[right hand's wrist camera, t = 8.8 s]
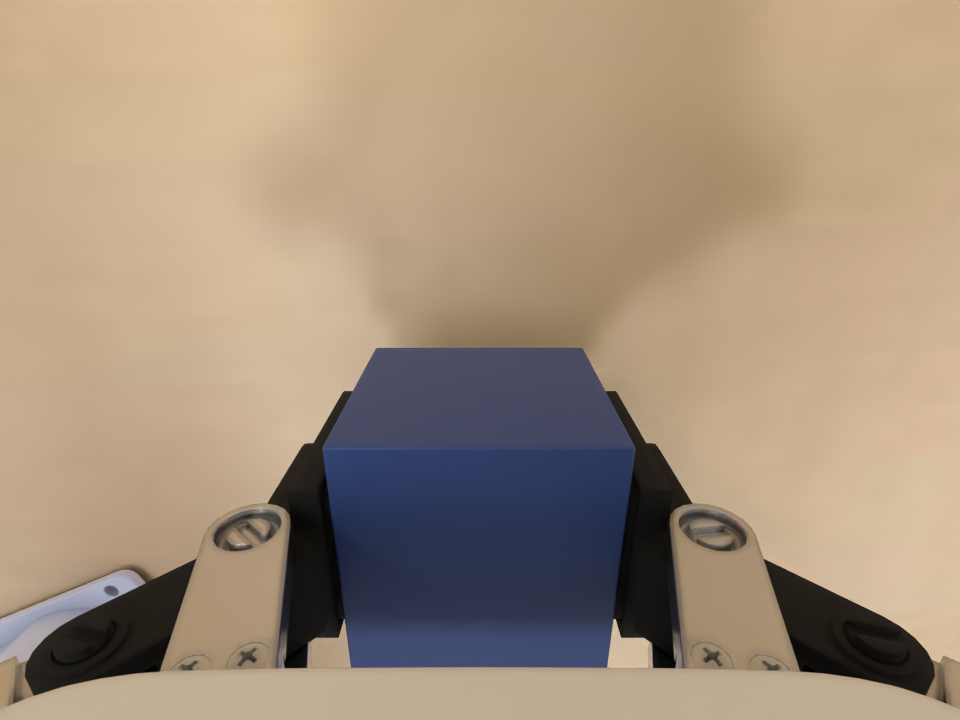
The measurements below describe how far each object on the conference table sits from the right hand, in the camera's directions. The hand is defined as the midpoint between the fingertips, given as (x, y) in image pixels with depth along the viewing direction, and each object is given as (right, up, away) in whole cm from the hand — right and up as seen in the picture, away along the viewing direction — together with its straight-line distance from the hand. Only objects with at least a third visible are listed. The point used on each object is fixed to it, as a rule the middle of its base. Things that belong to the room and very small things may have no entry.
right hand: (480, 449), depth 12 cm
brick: (0, 0, 0) cm, 0 cm away
